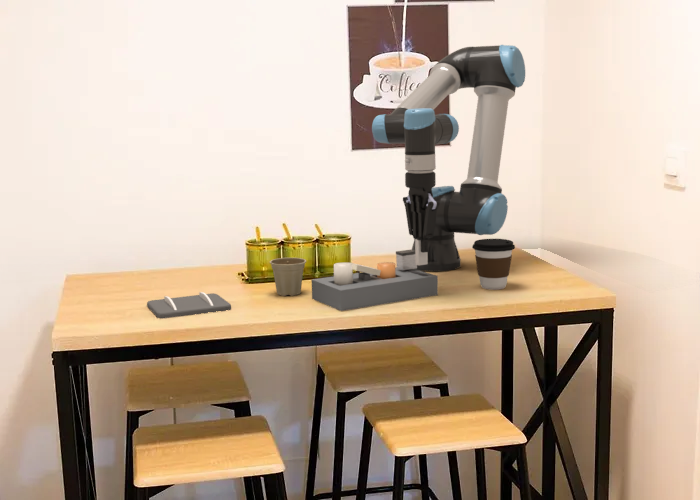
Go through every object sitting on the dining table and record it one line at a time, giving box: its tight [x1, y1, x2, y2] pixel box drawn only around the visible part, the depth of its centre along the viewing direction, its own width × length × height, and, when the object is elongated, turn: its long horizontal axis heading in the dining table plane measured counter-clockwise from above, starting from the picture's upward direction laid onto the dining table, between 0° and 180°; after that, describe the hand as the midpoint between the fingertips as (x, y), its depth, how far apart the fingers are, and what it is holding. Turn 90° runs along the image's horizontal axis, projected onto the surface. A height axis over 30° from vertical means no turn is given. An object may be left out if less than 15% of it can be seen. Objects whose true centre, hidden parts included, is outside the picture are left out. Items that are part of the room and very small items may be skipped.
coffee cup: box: [472, 238, 516, 291], centre depth 239 cm, size 11×11×12 cm
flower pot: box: [269, 257, 307, 297], centre depth 237 cm, size 9×9×9 cm
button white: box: [333, 262, 354, 286], centre depth 226 cm, size 5×5×6 cm
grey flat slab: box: [146, 291, 232, 319], centre depth 226 cm, size 18×3×15 cm
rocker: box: [348, 262, 381, 276], centre depth 229 cm, size 4×7×1 cm, turn 120°
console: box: [311, 266, 439, 312], centre depth 231 cm, size 15×28×6 cm, turn 120°
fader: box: [395, 249, 417, 270], centre depth 238 cm, size 3×5×4 cm
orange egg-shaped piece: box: [376, 261, 396, 279], centre depth 233 cm, size 5×5×6 cm
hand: (421, 264), depth 232 cm, fingers closed
